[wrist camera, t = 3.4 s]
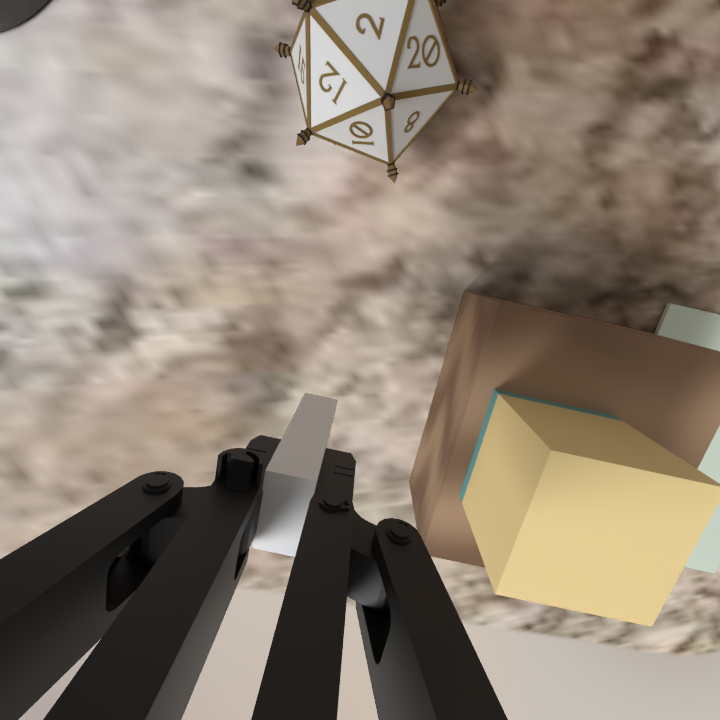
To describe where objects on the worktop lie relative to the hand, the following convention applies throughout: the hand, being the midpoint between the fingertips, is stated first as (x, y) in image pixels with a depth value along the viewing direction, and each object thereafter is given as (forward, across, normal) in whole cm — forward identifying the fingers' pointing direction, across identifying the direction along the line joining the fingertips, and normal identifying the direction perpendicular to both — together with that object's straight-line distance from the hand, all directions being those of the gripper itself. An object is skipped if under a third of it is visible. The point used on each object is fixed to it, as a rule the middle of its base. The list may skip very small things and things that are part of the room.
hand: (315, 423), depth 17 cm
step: (+8, +13, 0) cm, 15 cm away
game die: (+9, -1, +16) cm, 18 cm away
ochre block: (+1, +11, 0) cm, 11 cm away
